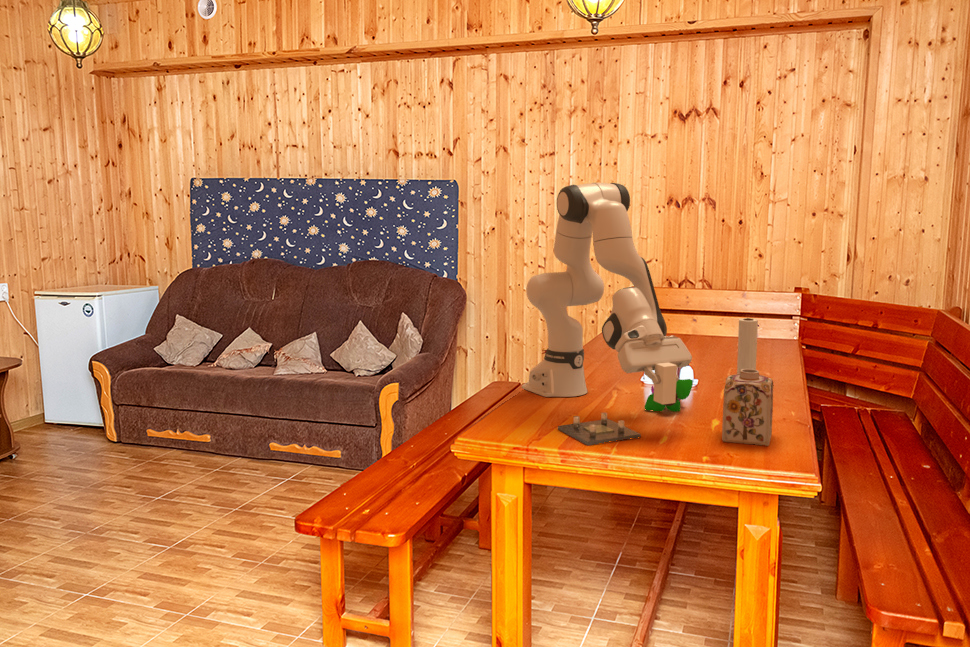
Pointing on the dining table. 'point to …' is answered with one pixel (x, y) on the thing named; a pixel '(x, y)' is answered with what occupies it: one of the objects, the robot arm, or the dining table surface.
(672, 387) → the post
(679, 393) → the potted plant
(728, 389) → the decorative jar
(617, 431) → the grey square base plate
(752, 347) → the tan cylinder
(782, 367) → the dining table surface
